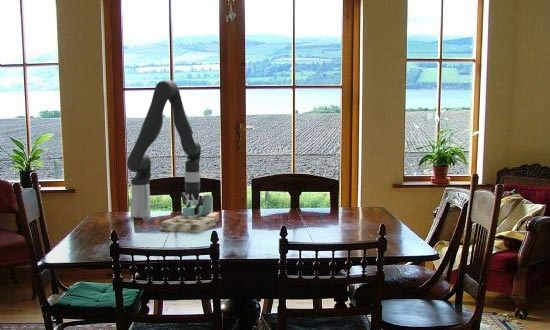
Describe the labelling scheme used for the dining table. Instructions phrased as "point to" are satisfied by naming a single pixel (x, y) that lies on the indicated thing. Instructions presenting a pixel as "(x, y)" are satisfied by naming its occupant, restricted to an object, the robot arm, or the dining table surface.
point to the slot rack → (188, 224)
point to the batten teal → (192, 211)
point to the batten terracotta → (214, 215)
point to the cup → (207, 204)
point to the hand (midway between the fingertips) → (192, 213)
